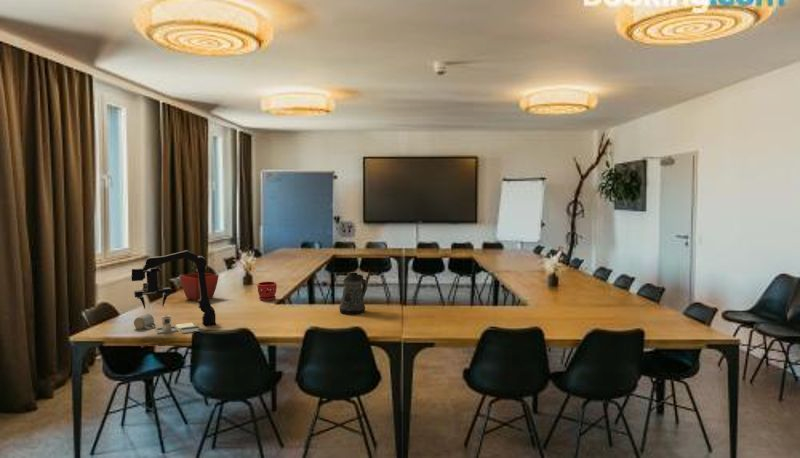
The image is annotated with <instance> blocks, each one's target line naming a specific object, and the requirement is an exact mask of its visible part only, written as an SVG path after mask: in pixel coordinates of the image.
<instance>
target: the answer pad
mask: <svg viewBox="0 0 800 458" xmlns="http://www.w3.org/2000/svg"><path fill="white" fill-rule="evenodd" d="M175 326H176V328H177V329H180V328H187V327H195V325H194V323H193V322H185V323H179V324H175Z"/></svg>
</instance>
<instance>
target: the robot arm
mask: <svg viewBox="0 0 800 458" xmlns="http://www.w3.org/2000/svg"><path fill="white" fill-rule="evenodd" d="M182 259H188V260H189V261H191V262H193V263H194V264H195V267H196V270H197V273H198V276H199V285H200V293H201V298H200V299H198V309H200V311H201V312H202V317H201V319H202V320H201V321H202V322H201V323H202V325H204V326H208V327H209V326H215V325H217V322H216V311H215V308H214V307H213V306H212V304H211V301H210V298H209V299H208V295H207V286H206V278H205V273H206V265H207V260H206V258H205V257H204V256H202V255H197V254H195V253H193V252H191V251H190V250H187V249H186V250H185V249H184V250H183V251H179V252H174V253H171V254H167V255H163V256H162V255H161V256H158V255H157V256H149V257H148V258H147V259H146V261H145V265H144V266H142V268H131V275H130V276H131V282H141V281H143V282H144V280H145V279H146V282H145V283H143V284H142V288H143V290H144V291H143V290H142V289H139V290H134V292H133V296H134V298H137V299H138V300H140V302H141V304H142V306H143V309H144V310H146V303H145V299H144V296H145V295H146V296H147V295H156V294H162V303H161V305H162V308H163V307H164V305H165V303H166V300H167V299H168V296H170V295H171V294H172V293H173V289H172V288H171V287H170V286H169V287H163V288H162V289H160V288H159V272H162V269H161V268H160V267H159V266H161V265H163V264H166V263H170V262H174V261H178V260H182ZM145 290H146V291H145Z"/></svg>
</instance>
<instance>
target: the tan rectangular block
mask: <svg viewBox="0 0 800 458" xmlns="http://www.w3.org/2000/svg"><path fill="white" fill-rule="evenodd" d="M161 321H162V322H161V326H162V327H161V328H162V330H163V332H165V331H171V327H172V316H171V315H170V314H167V315H161Z"/></svg>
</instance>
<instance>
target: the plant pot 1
mask: <svg viewBox="0 0 800 458" xmlns="http://www.w3.org/2000/svg"><path fill="white" fill-rule="evenodd" d="M219 276H220V275H219V274H216V273H215V274H214V273H208V272H205V278H206V286H207V295H208V299H209V300H210V299H213V297H214V295H215V293H216V289H217V285H218V281H219ZM179 278H180V282H181V287H182V290H183V292H184V294H185V297H186V299H187V300H192V301H196V302H197V301H198V299H200V298H201V293H200V285H199V276H198V272H196V273H189V274H183V275H180V276H179Z"/></svg>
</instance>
